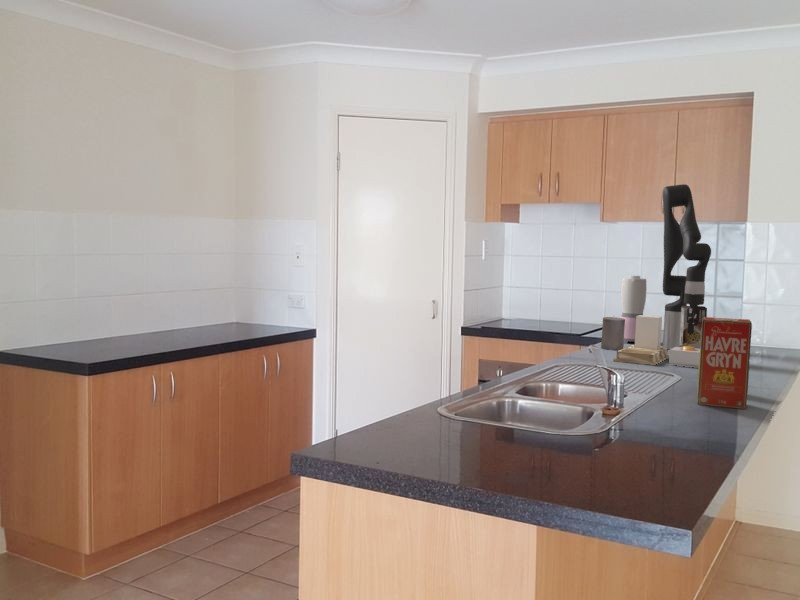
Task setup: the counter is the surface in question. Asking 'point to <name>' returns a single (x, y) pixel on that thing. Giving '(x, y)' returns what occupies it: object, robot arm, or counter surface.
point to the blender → (632, 304)
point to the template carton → (648, 332)
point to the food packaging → (724, 362)
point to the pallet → (641, 355)
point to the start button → (689, 348)
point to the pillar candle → (613, 333)
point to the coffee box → (694, 338)
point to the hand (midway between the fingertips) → (692, 332)
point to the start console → (684, 357)
